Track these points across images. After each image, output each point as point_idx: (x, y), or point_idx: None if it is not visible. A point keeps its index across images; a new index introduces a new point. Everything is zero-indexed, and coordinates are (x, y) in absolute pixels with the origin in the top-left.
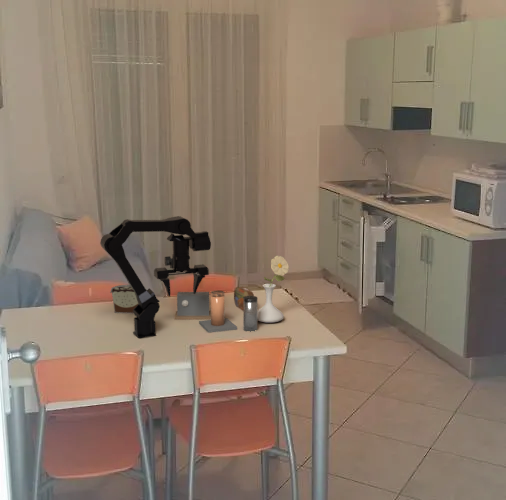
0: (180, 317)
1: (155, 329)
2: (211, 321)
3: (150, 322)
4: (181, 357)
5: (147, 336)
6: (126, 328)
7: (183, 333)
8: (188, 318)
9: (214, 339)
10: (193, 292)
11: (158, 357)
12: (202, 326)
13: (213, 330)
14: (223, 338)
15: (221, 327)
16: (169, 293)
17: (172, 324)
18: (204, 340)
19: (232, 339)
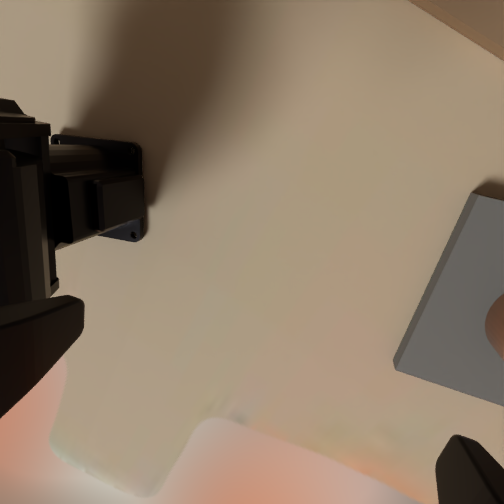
0: (429, 4)
1: (135, 219)
2: (497, 327)
3: (67, 245)
4: (148, 474)
5: (101, 235)
6: (43, 23)
7: (275, 288)
8: (483, 44)
9: (353, 441)
10: (454, 459)
11: (86, 428)
12: (437, 267)
13: (427, 377)
14: (399, 459)
15: (498, 388)
16: (30, 372)
17: (306, 101)
18: (306, 421)
19: (425, 492)
